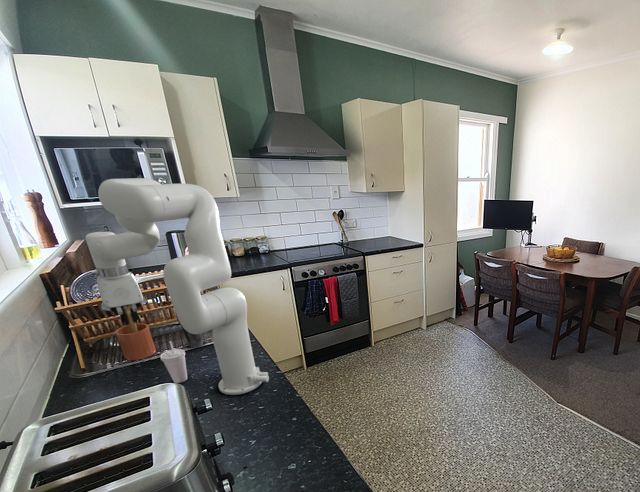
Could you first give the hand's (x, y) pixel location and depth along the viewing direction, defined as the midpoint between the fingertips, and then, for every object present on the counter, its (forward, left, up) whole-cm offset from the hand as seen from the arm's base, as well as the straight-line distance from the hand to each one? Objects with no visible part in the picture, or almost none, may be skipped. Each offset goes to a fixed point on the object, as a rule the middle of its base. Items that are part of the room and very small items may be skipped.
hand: (131, 322), depth 120 cm
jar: (0, +1, -12) cm, 12 cm away
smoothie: (-24, +16, -12) cm, 31 cm away
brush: (0, 0, -11) cm, 11 cm away
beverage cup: (-15, -7, -12) cm, 21 cm away
